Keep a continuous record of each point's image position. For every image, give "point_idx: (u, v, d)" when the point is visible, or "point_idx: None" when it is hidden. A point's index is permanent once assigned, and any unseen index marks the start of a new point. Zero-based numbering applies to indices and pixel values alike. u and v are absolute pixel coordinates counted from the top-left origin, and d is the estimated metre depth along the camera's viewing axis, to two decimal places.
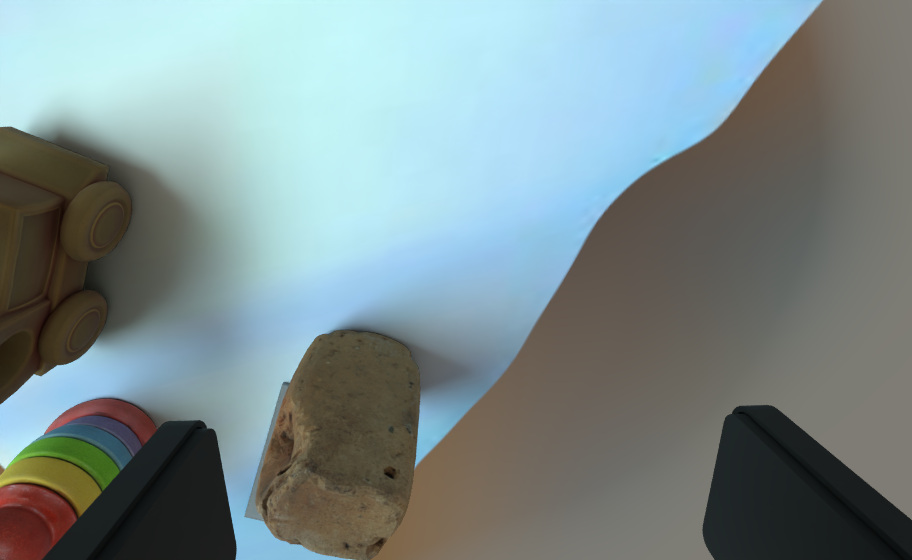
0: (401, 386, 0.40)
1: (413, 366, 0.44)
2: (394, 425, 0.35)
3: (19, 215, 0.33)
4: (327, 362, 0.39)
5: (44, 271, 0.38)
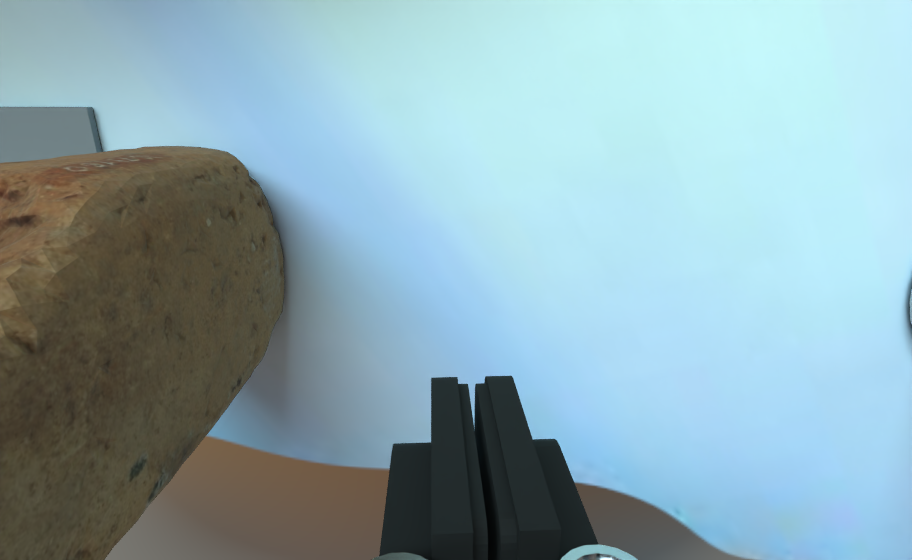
0: (227, 377, 0.19)
1: (262, 352, 0.23)
2: (149, 459, 0.14)
3: None
4: (208, 220, 0.17)
5: None
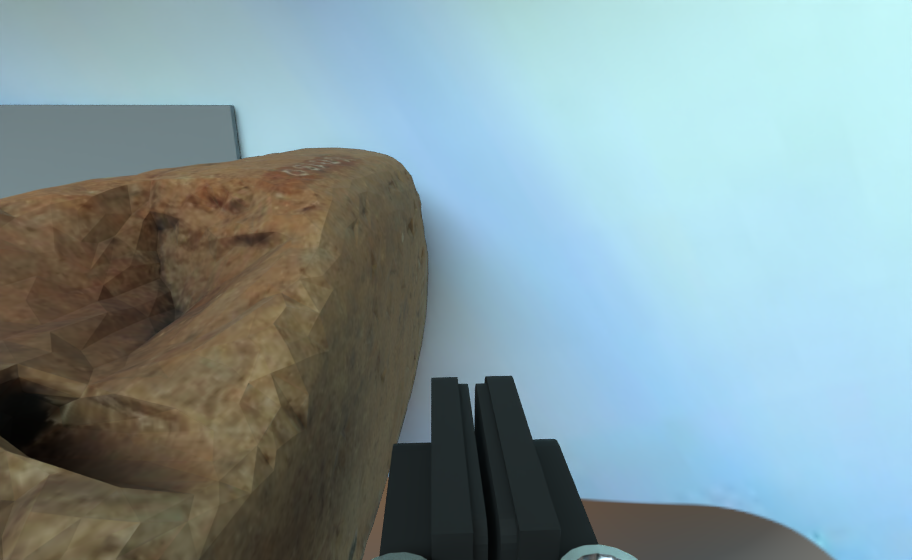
0: (399, 417, 0.16)
1: (413, 382, 0.20)
2: (357, 535, 0.11)
3: None
4: (402, 235, 0.14)
5: None
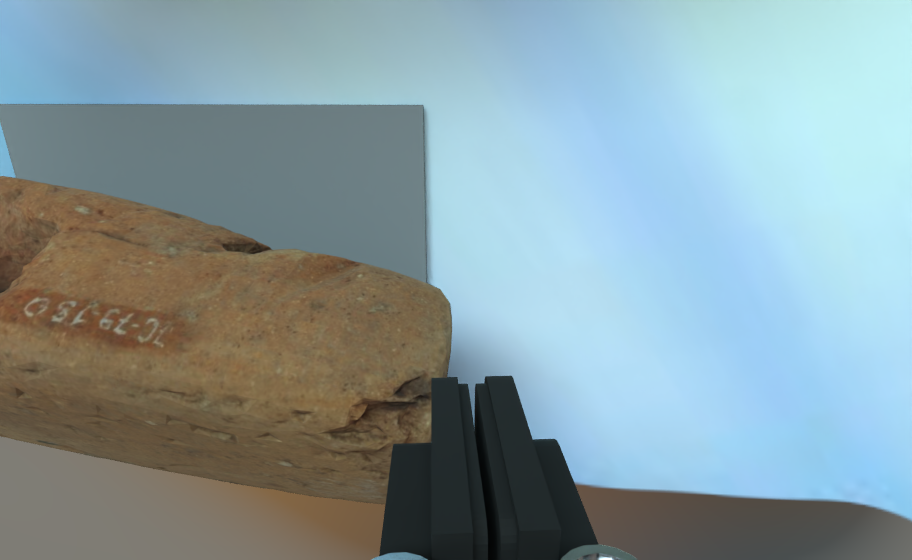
0: (204, 474, 0.19)
1: (308, 495, 0.20)
2: (67, 446, 0.18)
3: None
4: (149, 422, 0.14)
5: None
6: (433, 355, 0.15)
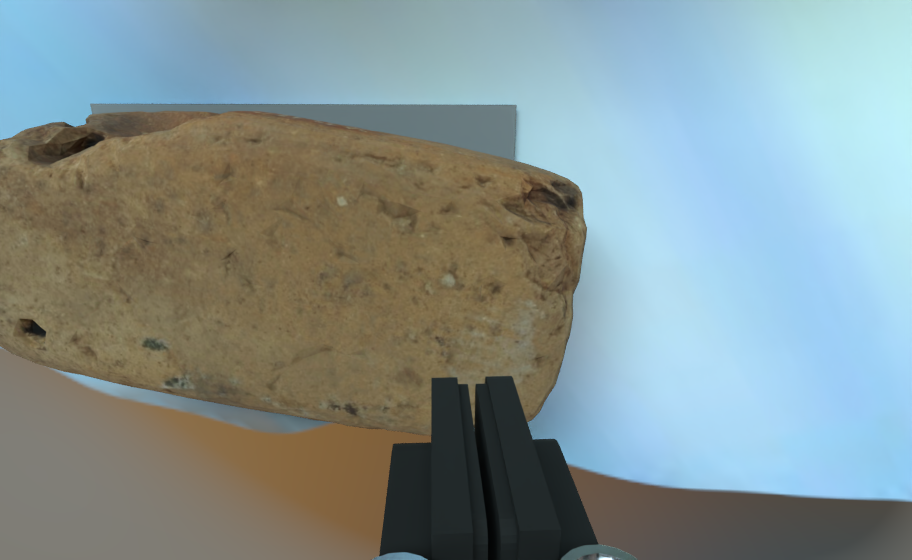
0: (324, 383, 0.17)
1: None
2: (173, 352, 0.16)
3: None
4: (341, 198, 0.15)
5: None
6: (569, 180, 0.18)
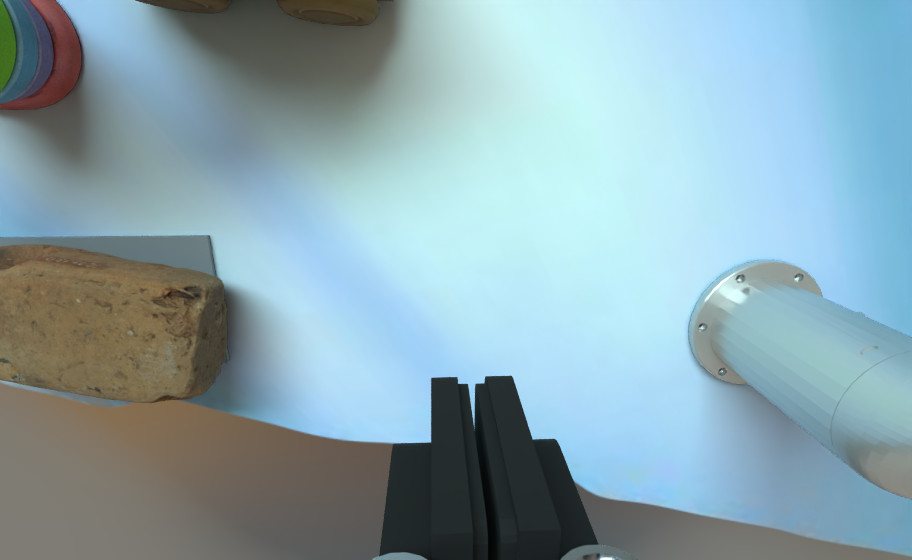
0: (83, 378, 0.37)
1: (138, 397, 0.37)
2: (13, 364, 0.36)
3: None
4: (77, 299, 0.35)
5: None
6: (205, 283, 0.38)
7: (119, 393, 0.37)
